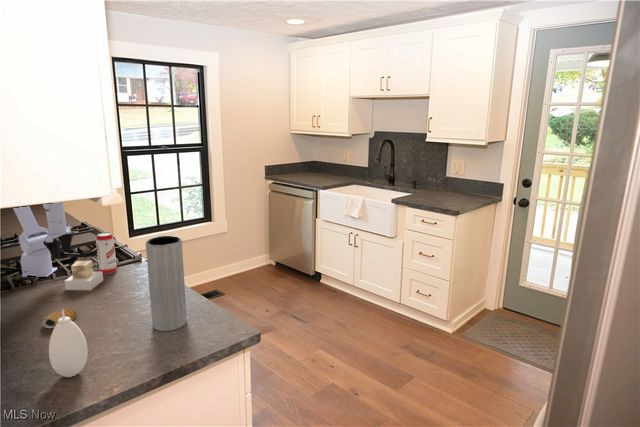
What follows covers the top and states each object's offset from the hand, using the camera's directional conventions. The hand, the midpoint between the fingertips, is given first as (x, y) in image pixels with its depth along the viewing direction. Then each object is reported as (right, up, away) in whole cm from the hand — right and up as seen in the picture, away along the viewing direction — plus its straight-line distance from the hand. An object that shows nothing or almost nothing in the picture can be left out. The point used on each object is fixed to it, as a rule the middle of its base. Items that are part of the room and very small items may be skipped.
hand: (61, 255), depth 153 cm
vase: (+50, -19, -26) cm, 60 cm away
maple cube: (+9, -8, -1) cm, 12 cm away
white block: (+9, -12, 0) cm, 15 cm away
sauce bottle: (+35, -25, -51) cm, 67 cm away
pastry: (+17, -18, -27) cm, 37 cm away
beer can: (+11, -8, +12) cm, 18 cm away
